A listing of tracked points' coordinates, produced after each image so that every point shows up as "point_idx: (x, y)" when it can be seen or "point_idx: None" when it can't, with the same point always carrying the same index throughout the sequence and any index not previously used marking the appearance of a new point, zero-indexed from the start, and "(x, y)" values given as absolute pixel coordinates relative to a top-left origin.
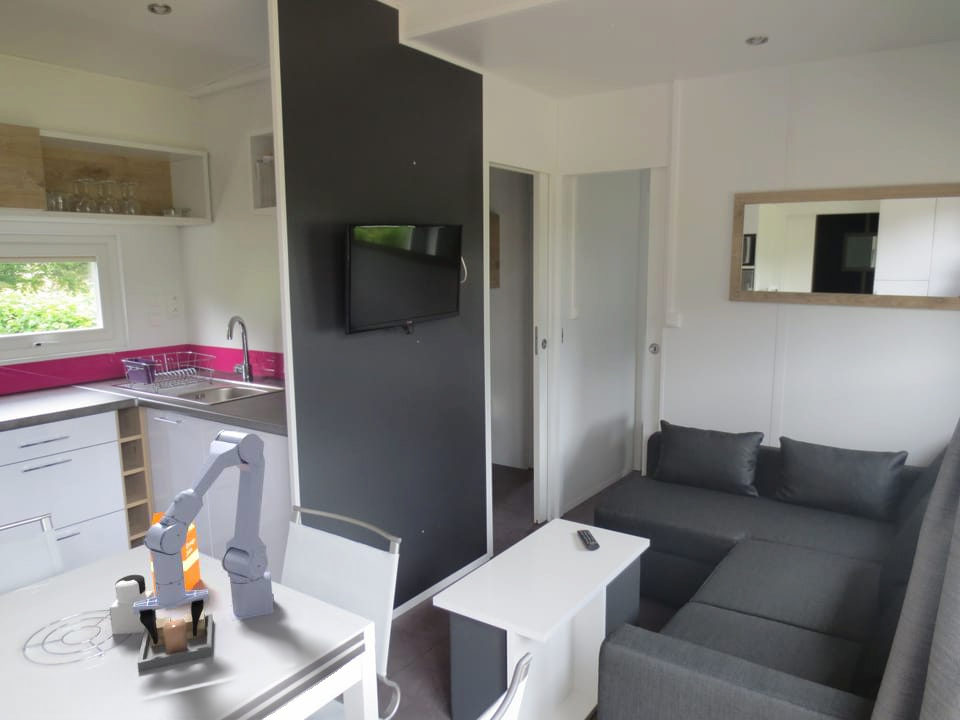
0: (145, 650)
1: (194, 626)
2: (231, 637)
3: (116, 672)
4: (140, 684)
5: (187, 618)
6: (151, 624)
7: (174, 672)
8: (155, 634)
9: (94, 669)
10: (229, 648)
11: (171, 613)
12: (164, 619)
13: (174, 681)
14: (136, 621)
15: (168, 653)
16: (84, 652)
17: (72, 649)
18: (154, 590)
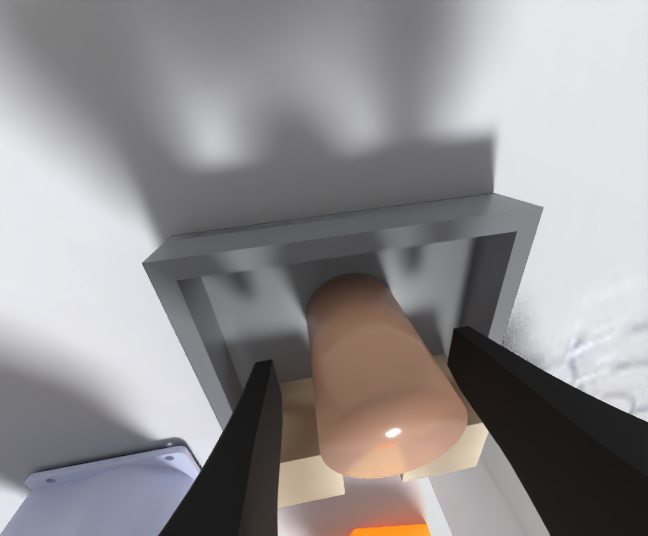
0: (476, 322)
1: (246, 420)
2: (144, 370)
3: (565, 232)
4: (497, 90)
5: (329, 473)
6: (640, 456)
7: (339, 157)
8: (507, 369)
9: (619, 270)
10: (112, 300)
11: (386, 477)
12: (426, 470)
13: (326, 49)
14: (504, 460)
15: (384, 288)
16: (610, 359)
17: (629, 375)
18: (429, 534)
